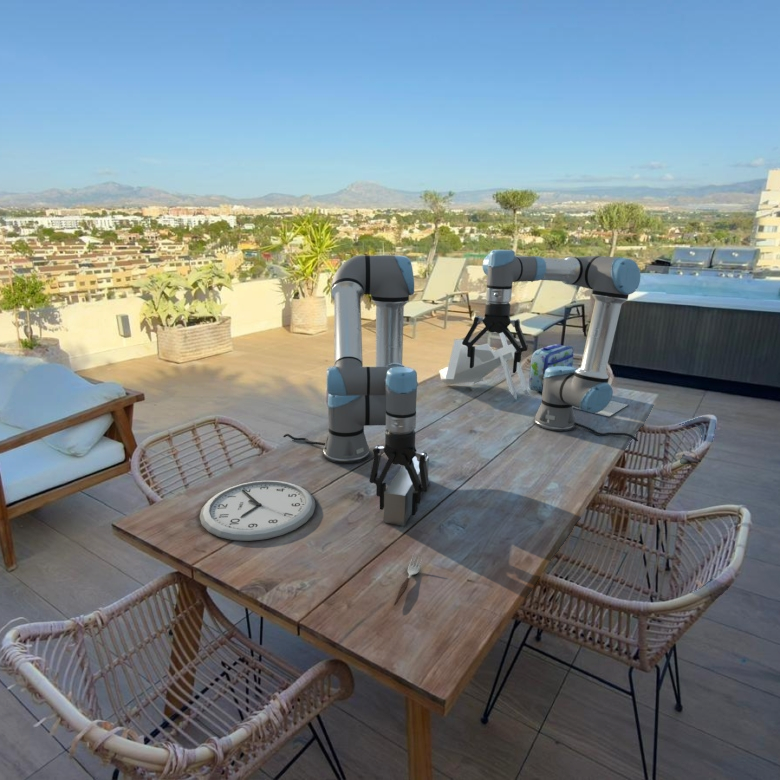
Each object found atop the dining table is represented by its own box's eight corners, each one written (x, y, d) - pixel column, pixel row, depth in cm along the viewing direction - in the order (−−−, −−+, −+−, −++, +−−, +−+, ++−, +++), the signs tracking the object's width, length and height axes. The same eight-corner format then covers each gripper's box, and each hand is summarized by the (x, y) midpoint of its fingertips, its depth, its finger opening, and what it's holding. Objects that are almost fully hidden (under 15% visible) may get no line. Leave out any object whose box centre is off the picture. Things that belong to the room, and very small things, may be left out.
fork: (388, 605, 105) (388, 597, 104) (412, 560, 119) (412, 553, 119) (400, 609, 104) (400, 600, 104) (423, 563, 119) (423, 555, 118)
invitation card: (608, 416, 214) (573, 407, 224) (608, 416, 214) (573, 408, 224) (628, 404, 229) (594, 396, 238) (628, 405, 229) (594, 397, 238)
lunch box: (545, 397, 238) (550, 352, 231) (524, 391, 245) (529, 348, 239) (572, 386, 255) (578, 344, 249) (552, 381, 262) (557, 340, 256)
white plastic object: (461, 429, 252) (437, 405, 227) (444, 352, 274) (420, 323, 250) (535, 404, 240) (518, 377, 215) (510, 326, 262) (492, 293, 237)
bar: (409, 479, 158) (410, 453, 155) (427, 482, 156) (428, 456, 154) (383, 522, 135) (384, 492, 132) (404, 526, 133) (405, 495, 131)
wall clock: (312, 532, 127) (184, 536, 124) (312, 538, 127) (185, 542, 125) (317, 476, 155) (214, 478, 153) (318, 481, 156) (214, 483, 153)
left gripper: (355, 429, 130) (356, 510, 137) (438, 440, 124) (433, 524, 131) (366, 419, 137) (366, 496, 144) (444, 429, 131) (440, 510, 137)
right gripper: (455, 301, 160) (451, 367, 166) (538, 306, 151) (531, 377, 158) (461, 298, 167) (457, 362, 173) (541, 303, 158) (534, 371, 164)
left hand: (398, 510), depth 137 cm, fingers open, 8 cm apart
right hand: (492, 369), depth 165 cm, fingers open, 13 cm apart
